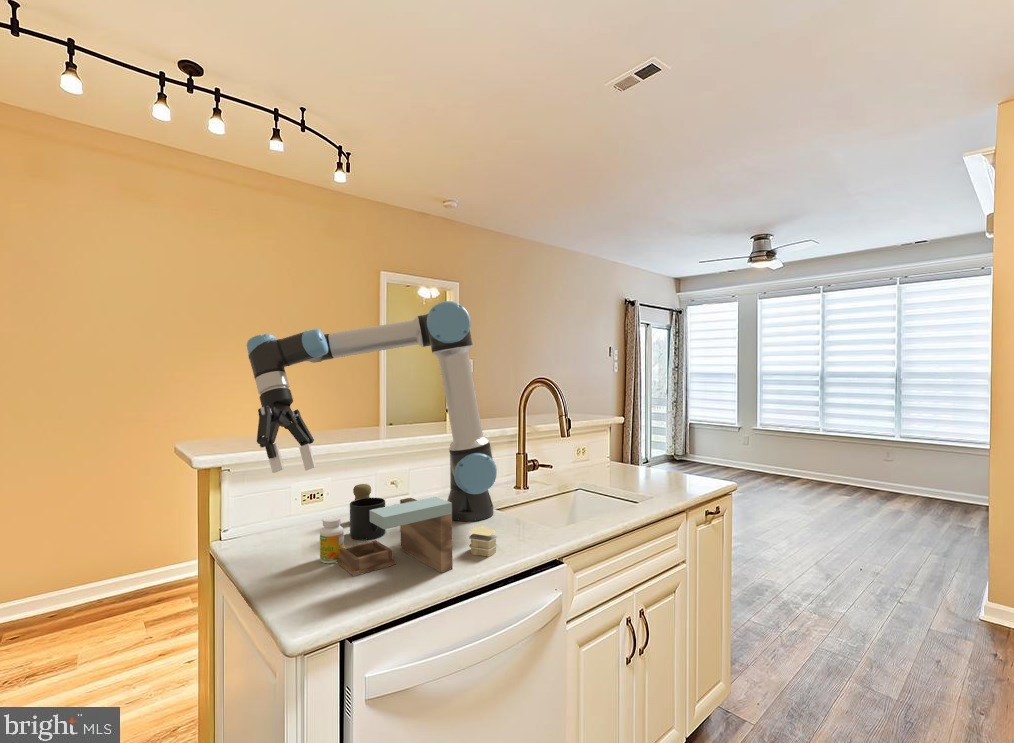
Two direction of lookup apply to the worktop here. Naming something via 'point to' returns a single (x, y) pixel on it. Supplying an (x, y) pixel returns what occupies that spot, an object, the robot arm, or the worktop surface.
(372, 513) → the plank
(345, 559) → the brown wooden square tray
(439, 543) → the wall
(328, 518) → the supplement bottle
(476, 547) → the pale yellow layered block
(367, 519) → the mug
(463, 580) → the worktop surface
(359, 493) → the cork
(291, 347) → the robot arm
